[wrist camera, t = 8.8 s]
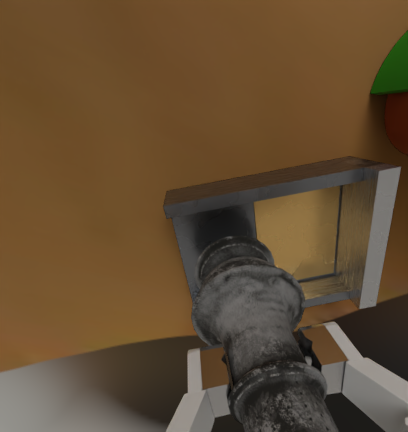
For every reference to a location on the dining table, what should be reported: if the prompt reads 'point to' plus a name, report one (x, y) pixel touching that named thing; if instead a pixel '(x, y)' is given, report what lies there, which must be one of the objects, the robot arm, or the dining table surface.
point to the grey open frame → (298, 223)
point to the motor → (395, 93)
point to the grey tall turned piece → (259, 337)
